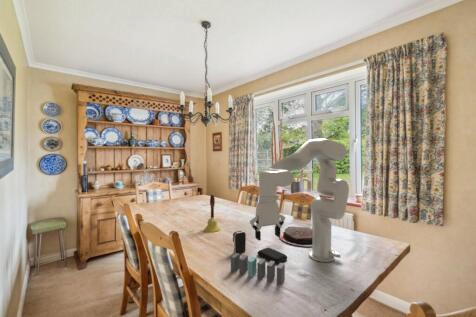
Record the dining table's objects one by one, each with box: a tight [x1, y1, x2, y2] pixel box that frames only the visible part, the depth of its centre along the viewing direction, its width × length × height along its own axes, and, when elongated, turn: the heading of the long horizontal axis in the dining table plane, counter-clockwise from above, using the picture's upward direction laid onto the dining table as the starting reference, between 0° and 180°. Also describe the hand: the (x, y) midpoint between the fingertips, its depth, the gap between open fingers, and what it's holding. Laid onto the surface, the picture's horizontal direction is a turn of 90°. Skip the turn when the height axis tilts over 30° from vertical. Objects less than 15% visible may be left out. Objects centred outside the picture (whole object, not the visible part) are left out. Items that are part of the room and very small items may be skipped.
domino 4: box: [256, 258, 267, 281], centre depth 103 cm, size 2×5×7 cm, turn 153°
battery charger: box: [232, 230, 247, 254], centre depth 130 cm, size 7×4×11 cm, turn 122°
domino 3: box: [247, 256, 258, 278], centre depth 105 cm, size 2×5×7 cm, turn 152°
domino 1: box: [230, 253, 241, 274], centre depth 109 cm, size 2×5×7 cm, turn 153°
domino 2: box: [238, 254, 249, 276], centre depth 107 cm, size 2×5×7 cm, turn 153°
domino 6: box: [276, 262, 286, 286], centre depth 100 cm, size 2×5×7 cm, turn 153°
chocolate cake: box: [279, 226, 312, 248], centre depth 150 cm, size 28×28×7 cm
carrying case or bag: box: [257, 247, 288, 265], centre depth 123 cm, size 11×3×15 cm
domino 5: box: [266, 261, 276, 283], centre depth 102 cm, size 2×5×7 cm, turn 153°
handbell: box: [203, 194, 222, 234], centre depth 167 cm, size 12×12×25 cm
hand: (268, 237), depth 102 cm, fingers open, 9 cm apart
